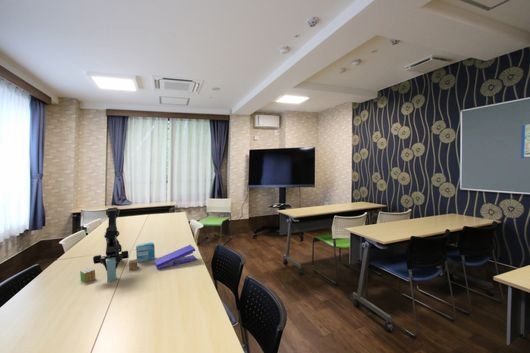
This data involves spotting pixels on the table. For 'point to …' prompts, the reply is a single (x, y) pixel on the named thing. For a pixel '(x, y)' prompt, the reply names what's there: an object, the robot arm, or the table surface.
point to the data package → (145, 252)
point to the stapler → (176, 258)
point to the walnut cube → (133, 264)
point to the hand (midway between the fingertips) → (111, 269)
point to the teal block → (111, 269)
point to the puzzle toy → (87, 274)
